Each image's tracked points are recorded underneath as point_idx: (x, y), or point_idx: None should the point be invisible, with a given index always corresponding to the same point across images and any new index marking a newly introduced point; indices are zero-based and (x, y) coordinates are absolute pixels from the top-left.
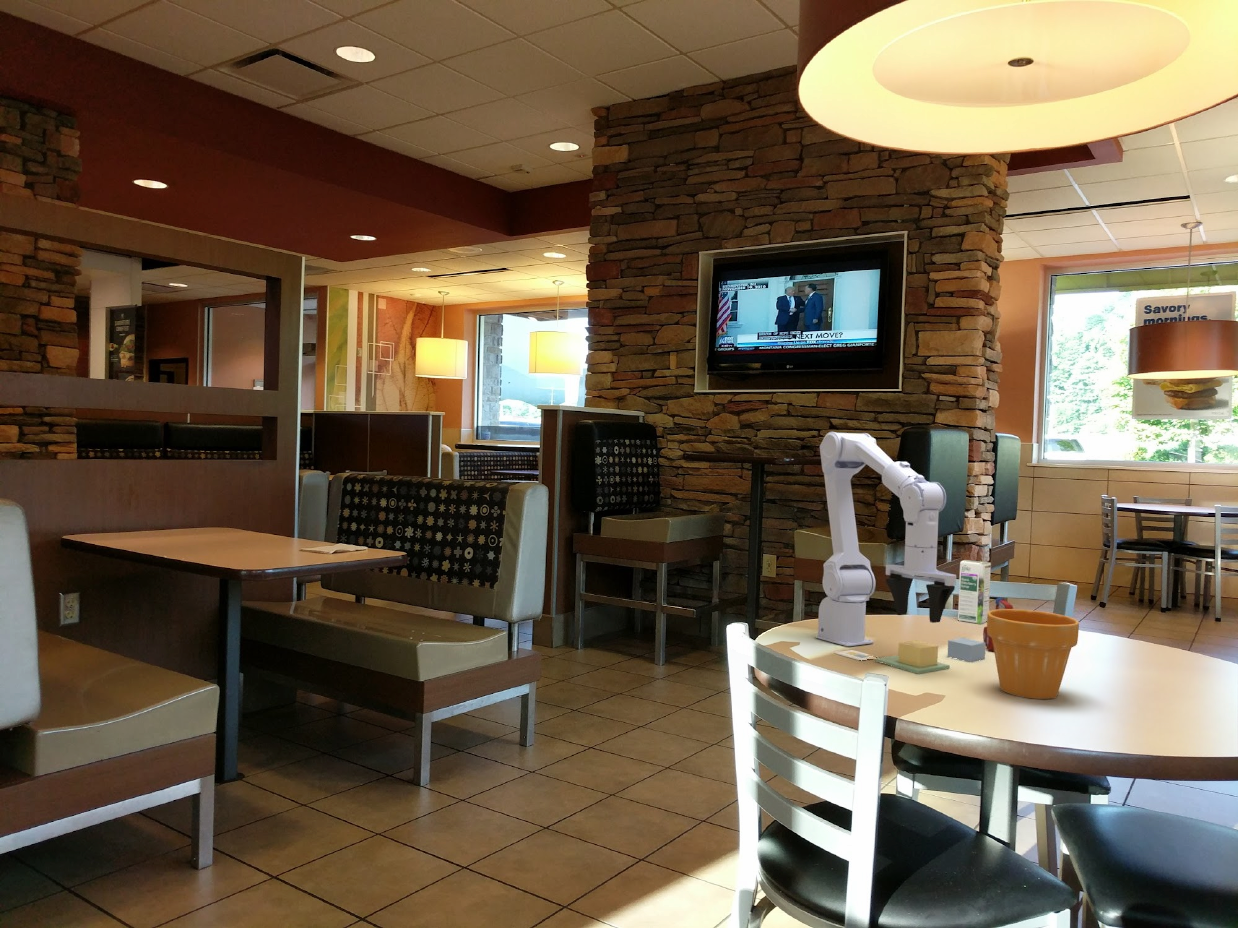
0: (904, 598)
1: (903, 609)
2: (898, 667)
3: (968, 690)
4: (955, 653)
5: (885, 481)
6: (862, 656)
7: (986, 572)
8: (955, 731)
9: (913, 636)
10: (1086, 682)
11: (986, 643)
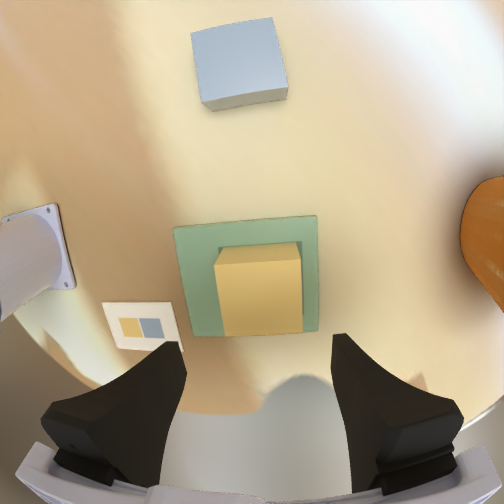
0: (156, 394)
1: (176, 369)
2: None
3: (435, 321)
4: (235, 103)
5: None
6: (157, 330)
7: None
8: (465, 425)
9: (43, 63)
10: (484, 55)
11: None
